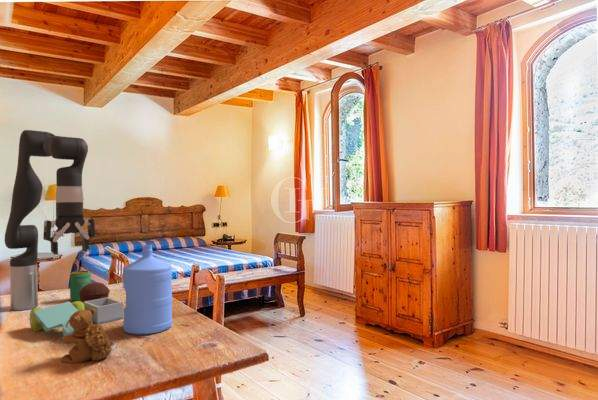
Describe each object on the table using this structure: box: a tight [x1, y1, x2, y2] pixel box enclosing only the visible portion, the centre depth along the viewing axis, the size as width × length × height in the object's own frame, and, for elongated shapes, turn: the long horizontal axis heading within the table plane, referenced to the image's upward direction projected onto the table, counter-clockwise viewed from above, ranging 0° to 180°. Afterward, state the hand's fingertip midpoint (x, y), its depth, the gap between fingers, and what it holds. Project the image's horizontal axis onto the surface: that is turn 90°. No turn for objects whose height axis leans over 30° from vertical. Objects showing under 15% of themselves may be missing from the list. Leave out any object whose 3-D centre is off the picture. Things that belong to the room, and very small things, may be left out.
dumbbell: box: [29, 301, 85, 332], centre depth 144 cm, size 16×8×7 cm, turn 132°
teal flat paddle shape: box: [34, 301, 78, 338], centre depth 135 cm, size 19×11×3 cm, turn 50°
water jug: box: [122, 244, 173, 336], centre depth 141 cm, size 16×16×28 cm
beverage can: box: [69, 270, 92, 303], centre depth 180 cm, size 8×8×12 cm
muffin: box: [79, 281, 111, 304], centre depth 166 cm, size 12×11×10 cm
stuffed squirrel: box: [60, 309, 113, 364], centre depth 115 cm, size 10×14×13 cm
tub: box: [84, 296, 124, 325], centre depth 152 cm, size 12×9×6 cm
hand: (70, 252), depth 131 cm, fingers open, 8 cm apart
